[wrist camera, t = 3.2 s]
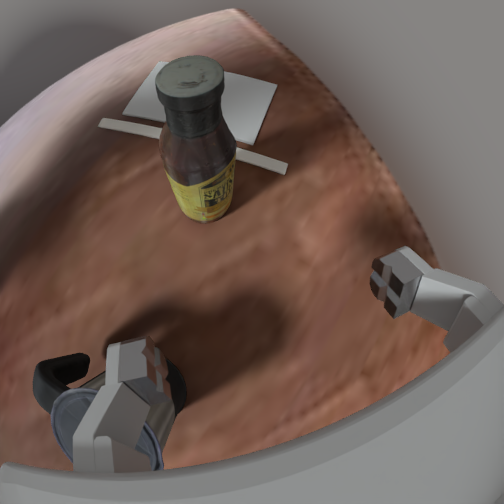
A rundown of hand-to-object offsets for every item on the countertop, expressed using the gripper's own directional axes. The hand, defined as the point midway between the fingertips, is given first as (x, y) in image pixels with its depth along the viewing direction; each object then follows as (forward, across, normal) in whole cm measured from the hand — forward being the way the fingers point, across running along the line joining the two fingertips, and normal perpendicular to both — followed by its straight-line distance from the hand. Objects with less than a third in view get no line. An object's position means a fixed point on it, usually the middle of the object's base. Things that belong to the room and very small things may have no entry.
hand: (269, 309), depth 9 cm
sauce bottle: (+24, 0, +7) cm, 25 cm away
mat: (+36, -3, -5) cm, 36 cm away
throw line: (+31, +1, 0) cm, 31 cm away
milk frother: (+9, +17, +22) cm, 29 cm away
